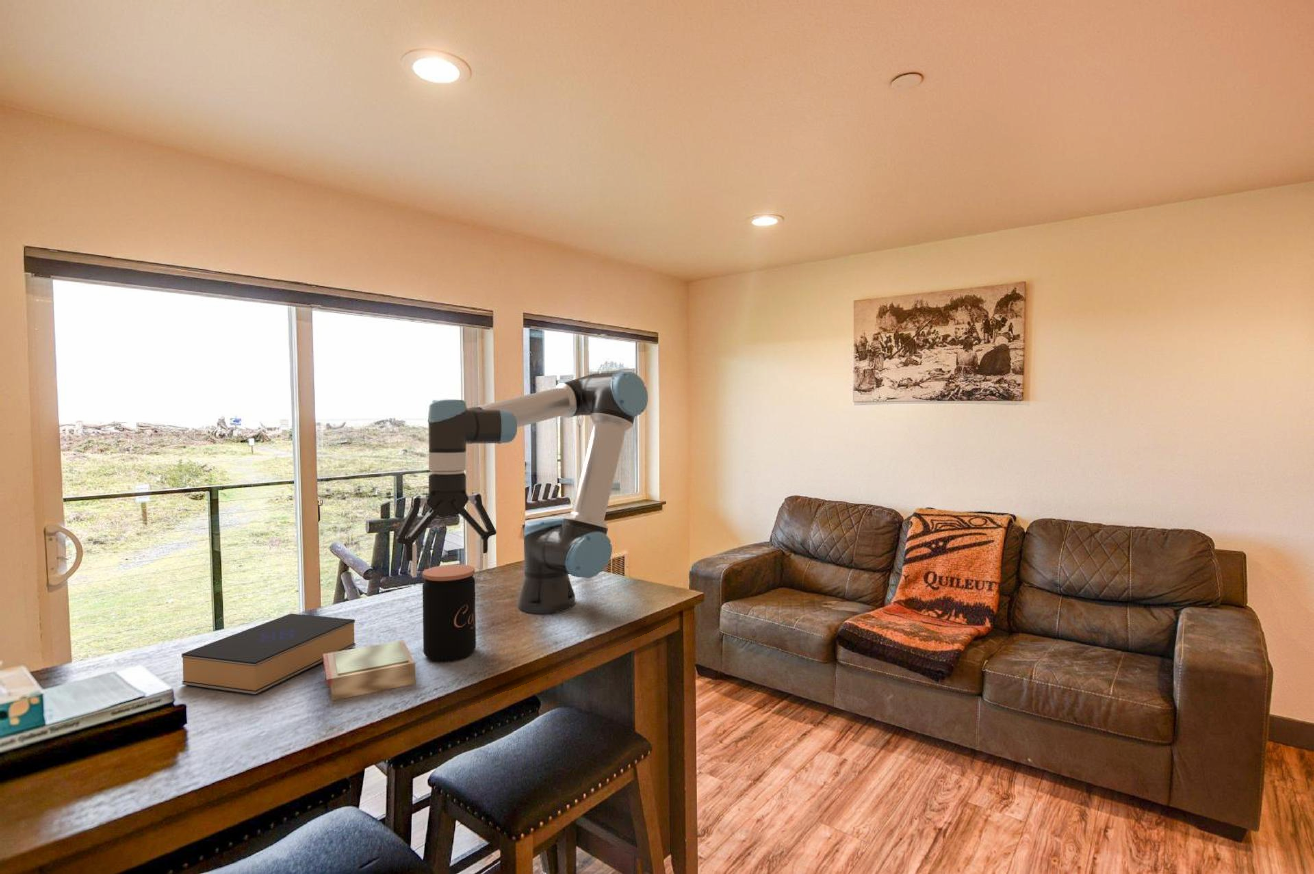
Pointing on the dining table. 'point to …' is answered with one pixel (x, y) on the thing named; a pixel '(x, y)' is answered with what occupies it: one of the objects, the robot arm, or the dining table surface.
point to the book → (266, 653)
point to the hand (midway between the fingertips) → (447, 572)
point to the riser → (368, 669)
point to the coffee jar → (449, 613)
